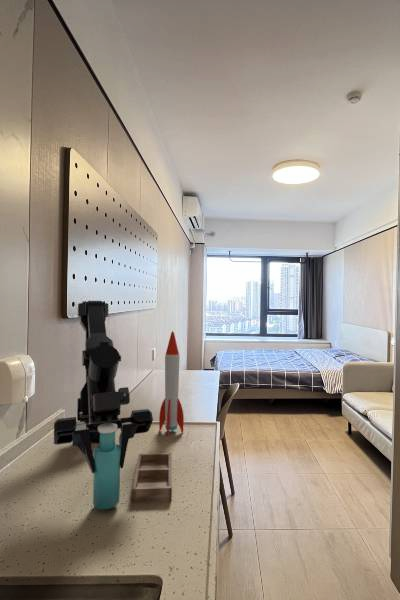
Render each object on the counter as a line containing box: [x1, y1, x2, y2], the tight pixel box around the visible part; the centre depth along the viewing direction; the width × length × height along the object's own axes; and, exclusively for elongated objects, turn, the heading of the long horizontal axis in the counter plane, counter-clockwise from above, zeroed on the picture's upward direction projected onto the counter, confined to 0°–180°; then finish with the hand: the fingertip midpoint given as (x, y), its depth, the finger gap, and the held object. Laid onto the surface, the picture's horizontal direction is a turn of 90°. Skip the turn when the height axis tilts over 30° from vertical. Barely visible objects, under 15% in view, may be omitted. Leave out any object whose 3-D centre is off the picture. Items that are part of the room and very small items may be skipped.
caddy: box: [131, 452, 173, 504], centre depth 74 cm, size 8×15×3 cm, turn 5°
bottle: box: [92, 423, 121, 510], centre depth 64 cm, size 5×5×14 cm
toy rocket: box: [158, 330, 185, 437], centre depth 101 cm, size 6×6×30 cm
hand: (107, 470), depth 63 cm, fingers closed on bottle, 5 cm apart
